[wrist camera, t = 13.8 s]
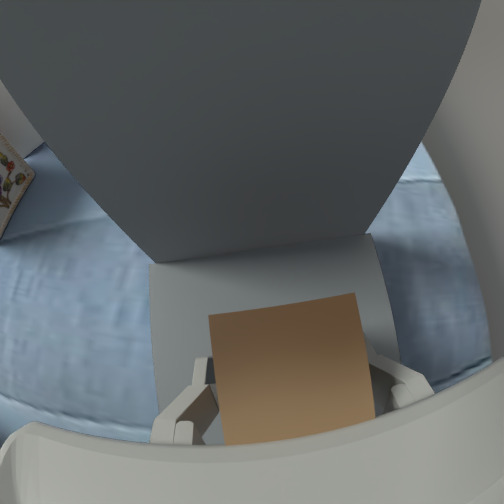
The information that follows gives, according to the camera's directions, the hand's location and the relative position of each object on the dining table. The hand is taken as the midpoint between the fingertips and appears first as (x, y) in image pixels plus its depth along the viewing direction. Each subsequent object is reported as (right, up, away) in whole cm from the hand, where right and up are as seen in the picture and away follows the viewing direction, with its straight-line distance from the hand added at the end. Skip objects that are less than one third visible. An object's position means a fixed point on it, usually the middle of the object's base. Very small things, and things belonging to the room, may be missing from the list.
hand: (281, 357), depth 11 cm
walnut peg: (0, -3, +6) cm, 6 cm away
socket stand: (+1, -4, +7) cm, 8 cm away
